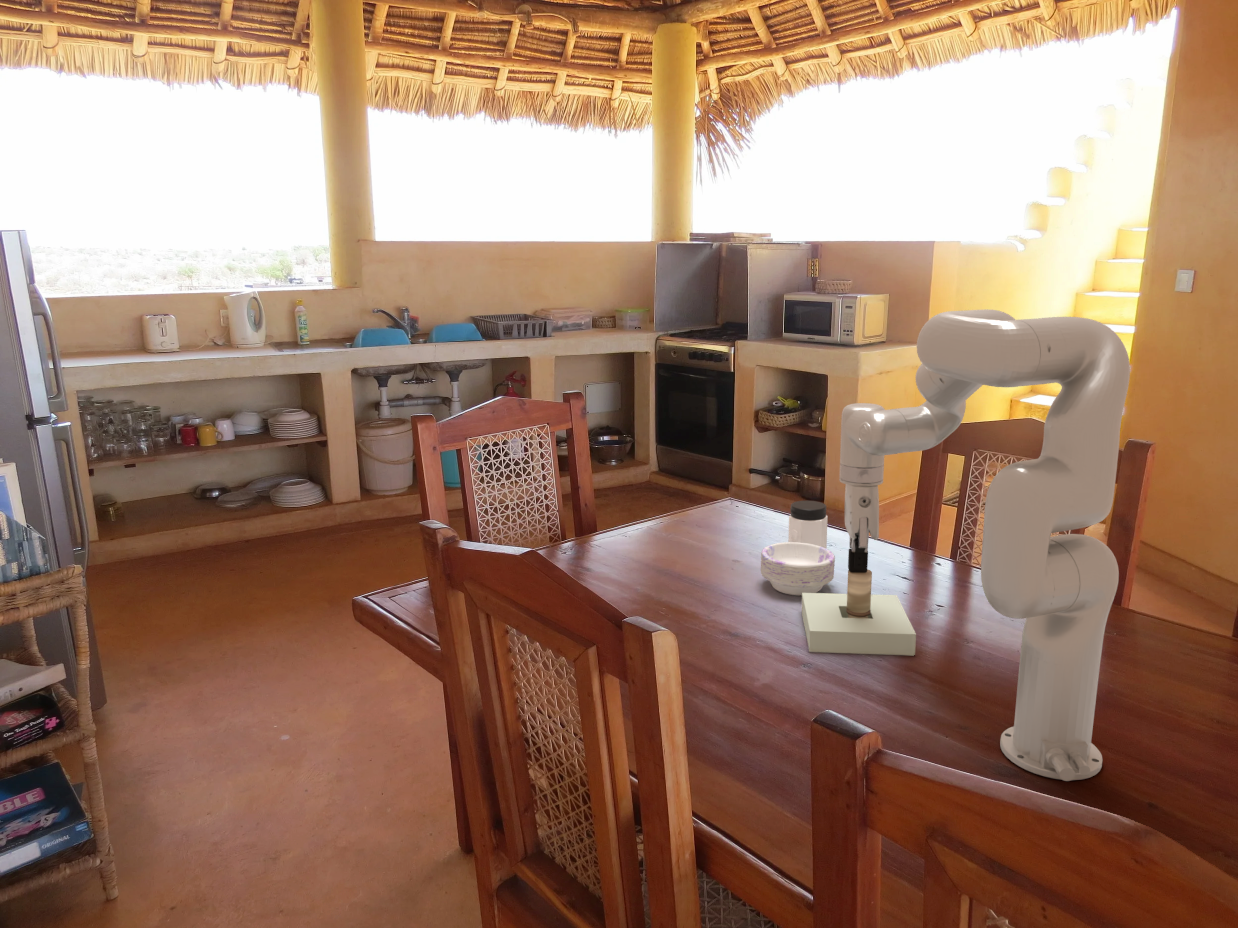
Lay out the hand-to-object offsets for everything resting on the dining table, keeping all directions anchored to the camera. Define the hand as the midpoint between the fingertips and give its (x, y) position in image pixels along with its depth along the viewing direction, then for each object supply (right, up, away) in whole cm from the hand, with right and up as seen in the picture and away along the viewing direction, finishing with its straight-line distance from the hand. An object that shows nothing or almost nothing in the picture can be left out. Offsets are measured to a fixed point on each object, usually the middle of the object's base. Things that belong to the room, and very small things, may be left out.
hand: (857, 570), depth 155 cm
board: (0, -12, +3) cm, 12 cm away
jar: (+1, -2, +46) cm, 46 cm away
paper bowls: (-6, -7, +25) cm, 27 cm away
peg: (+1, -12, +2) cm, 12 cm away
